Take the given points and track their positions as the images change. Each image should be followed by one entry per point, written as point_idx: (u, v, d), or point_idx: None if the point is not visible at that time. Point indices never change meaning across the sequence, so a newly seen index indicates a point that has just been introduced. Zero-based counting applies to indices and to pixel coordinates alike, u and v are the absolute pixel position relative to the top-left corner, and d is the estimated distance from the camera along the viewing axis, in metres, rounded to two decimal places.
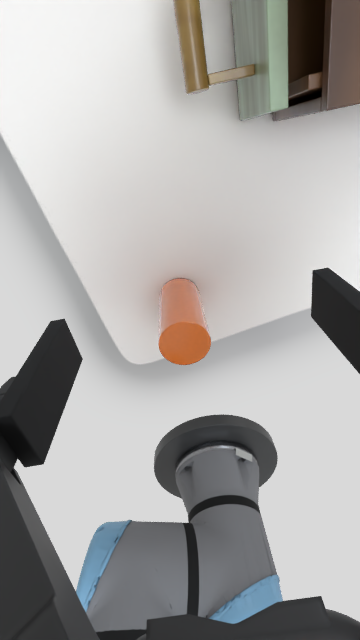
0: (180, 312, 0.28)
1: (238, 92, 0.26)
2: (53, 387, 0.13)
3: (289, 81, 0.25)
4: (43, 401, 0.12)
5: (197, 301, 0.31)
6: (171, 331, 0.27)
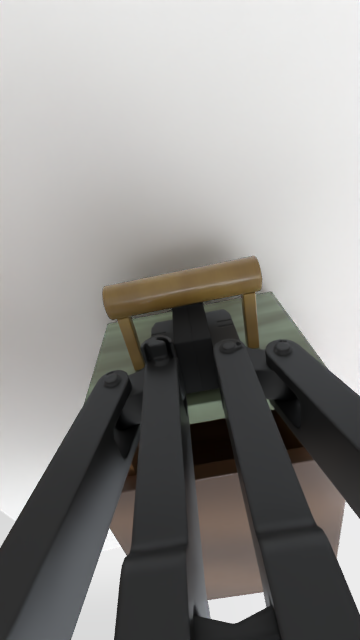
0: None
1: (136, 319, 0.21)
2: None
3: None
4: None
5: None
6: None
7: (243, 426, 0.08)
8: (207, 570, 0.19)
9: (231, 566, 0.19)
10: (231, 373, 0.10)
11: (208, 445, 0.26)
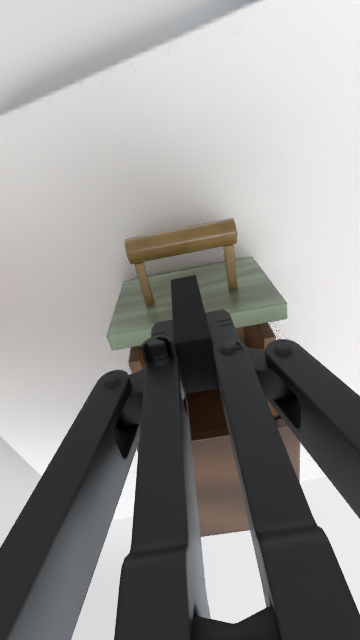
0: None
1: None
2: None
3: None
4: None
5: None
6: None
7: (243, 426, 0.08)
8: (209, 509, 0.28)
9: (226, 506, 0.28)
10: (231, 373, 0.10)
11: None
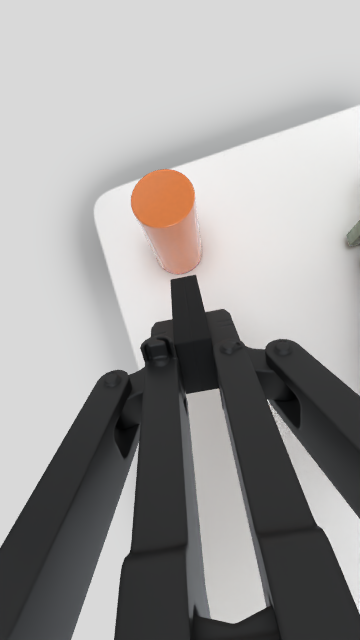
0: None
1: None
2: None
3: None
4: None
5: (191, 247, 0.27)
6: (182, 182, 0.22)
7: (243, 425, 0.08)
8: None
9: None
10: (231, 373, 0.10)
11: None
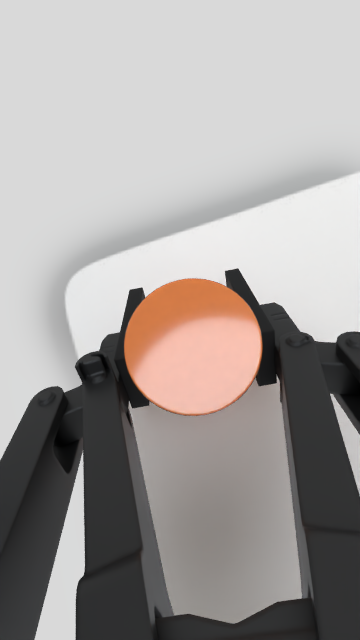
0: None
1: None
2: None
3: None
4: None
5: None
6: (232, 309, 0.11)
7: (302, 420, 0.08)
8: None
9: None
10: (295, 366, 0.10)
11: None
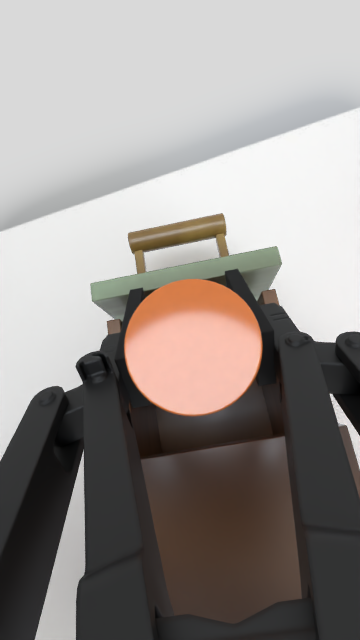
0: None
1: None
2: None
3: None
4: None
5: None
6: (232, 309, 0.11)
7: (302, 420, 0.08)
8: None
9: None
10: (295, 366, 0.10)
11: None
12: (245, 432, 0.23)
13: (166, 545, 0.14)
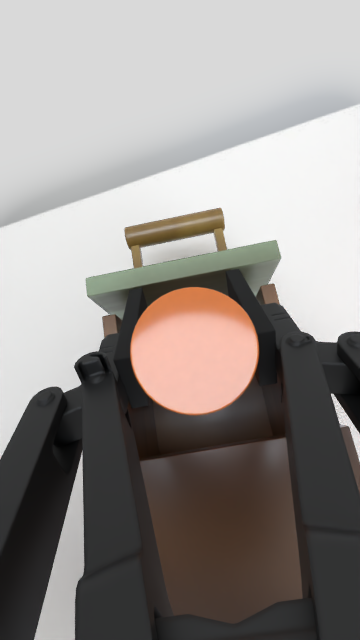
0: None
1: None
2: None
3: None
4: None
5: None
6: (231, 316, 0.11)
7: (303, 420, 0.08)
8: None
9: None
10: (296, 366, 0.10)
11: None
12: (244, 430, 0.22)
13: (163, 550, 0.13)
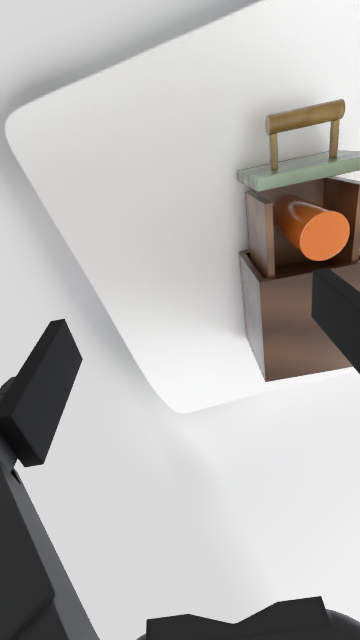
0: None
1: (254, 167, 0.36)
2: (53, 387, 0.13)
3: None
4: (43, 401, 0.12)
5: None
6: (342, 224, 0.29)
7: None
8: (298, 347, 0.38)
9: (310, 344, 0.38)
10: None
11: (285, 266, 0.41)
12: None
13: (289, 307, 0.35)
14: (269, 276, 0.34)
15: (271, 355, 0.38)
